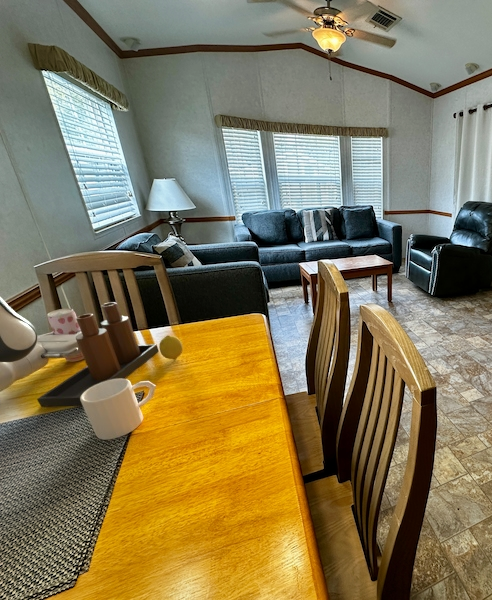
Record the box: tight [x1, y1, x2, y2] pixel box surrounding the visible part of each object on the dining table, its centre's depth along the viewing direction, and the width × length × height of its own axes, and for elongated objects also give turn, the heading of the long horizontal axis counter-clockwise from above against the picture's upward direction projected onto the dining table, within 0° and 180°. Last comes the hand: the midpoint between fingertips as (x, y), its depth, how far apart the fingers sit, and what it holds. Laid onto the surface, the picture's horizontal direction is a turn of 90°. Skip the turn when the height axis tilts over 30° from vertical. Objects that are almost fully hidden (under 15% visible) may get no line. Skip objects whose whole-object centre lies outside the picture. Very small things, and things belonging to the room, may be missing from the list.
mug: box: [80, 378, 157, 441], centre depth 71 cm, size 8×12×10 cm, turn 131°
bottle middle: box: [76, 313, 121, 381], centre depth 86 cm, size 6×6×18 cm
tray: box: [36, 343, 160, 408], centre depth 89 cm, size 25×11×2 cm, turn 2°
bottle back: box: [100, 301, 141, 364], centre depth 94 cm, size 6×6×18 cm
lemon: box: [158, 334, 184, 361], centre depth 96 cm, size 6×6×8 cm
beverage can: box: [46, 307, 84, 363], centre depth 96 cm, size 6×6×15 cm
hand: (71, 332), depth 96 cm, fingers closed on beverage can, 5 cm apart
